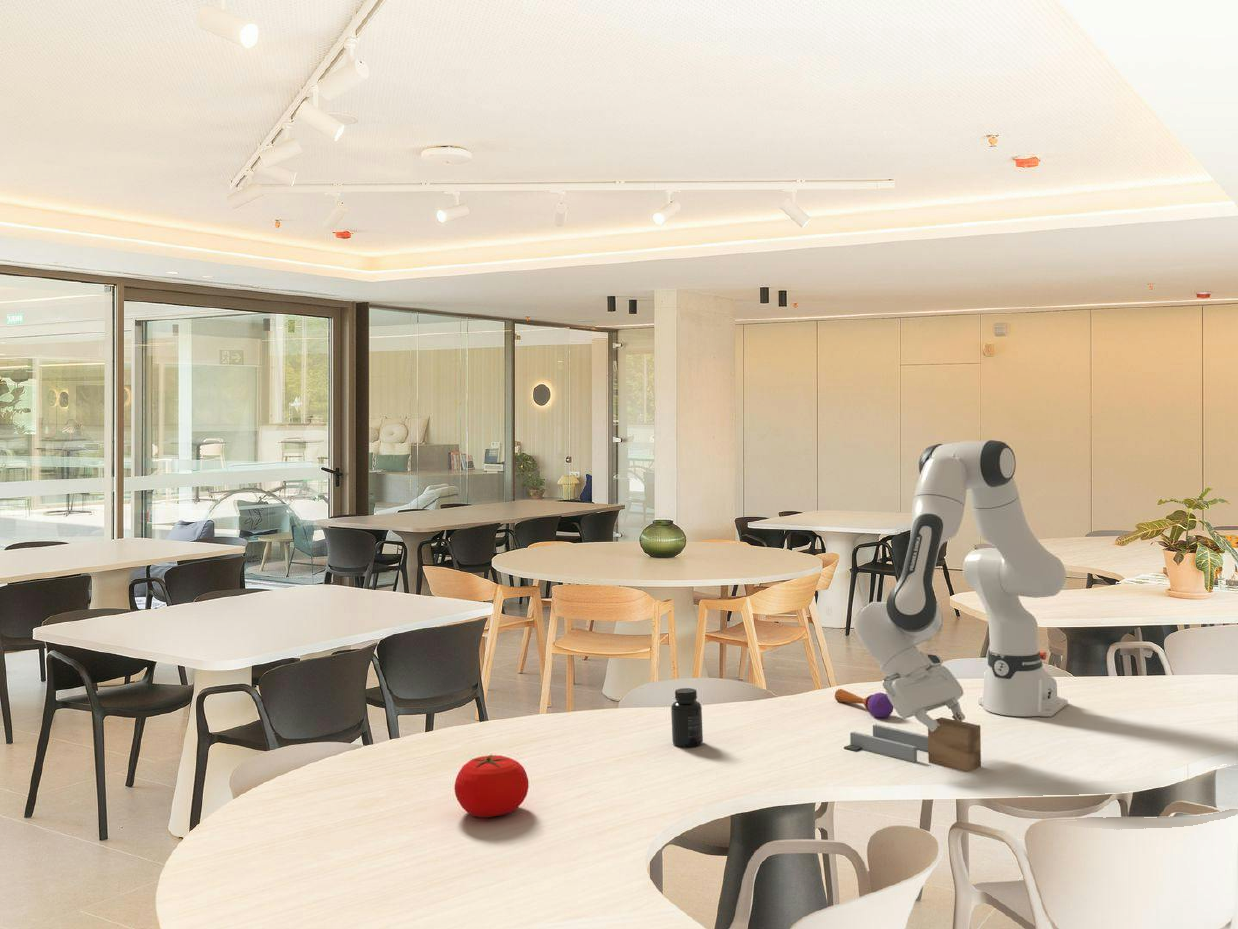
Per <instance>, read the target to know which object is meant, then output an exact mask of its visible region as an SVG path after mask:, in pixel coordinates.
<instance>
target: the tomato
mask: <svg viewBox="0 0 1238 929" xmlns="http://www.w3.org/2000/svg"><path fill="white" fill-rule="evenodd" d="M453 787H454V795H455V797H456V799H457V801H458V803H459V805H460V806H461V808H462V809H463V810H464V811H465V812H466V813H468V814H469V815H472V816H473V817H474V816H475V817H477V818H478V817H479V818H491V817H492V818H493V817H497V816H499V817H500V816H503V815H506V814H509V813H511V812H513V811H515V810H517V809H518V808H519V807H520V805H521V804H522V803H523V802H524V801H525V799H526V798H527V795H528V792H529V788H530V785H529V777H528V774H527V771H526V770H525V767H524V766H523V765H522V764H521V763H520V762H519V761H517V760H516V759H512V758H510V757H508V756H503V755H495V754H494V755H493V754H490V755H484V756H483V755H482V756H478V757H475V758H471V759H470V760H469V761H467V762H466V763H465V764H464V765H463V766H461V769H460V770H459V771H458V773H457V775H456V778H455V783H454V786H453Z"/></svg>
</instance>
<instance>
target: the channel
mask: <svg viewBox="0 0 1238 929" xmlns="http://www.w3.org/2000/svg"><path fill="white" fill-rule="evenodd" d="M849 737H850V738H849V740H850V741H849V742H850V743H849V744H848V745H846V746H843V749H844V750H848V751H852V752H858V751H860V750H864V751H867V752H871V753H874V754H875V753H876V754H879V755H884V756H888V757H891V758H896V759H899V760H904V761H908V762H910V763H911V762H912V763H915V762H918V750H919V751H923V752H927V753H928V735H924V734H920V733H915V732H911V731H907V730H904V729H903V730H902V729H899V728H893V727H890V726H886V725H882V724H876V723H875V724H873V725H872V735H869V734H865V733H862V732H858V731H851V732H850V733H849Z"/></svg>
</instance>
